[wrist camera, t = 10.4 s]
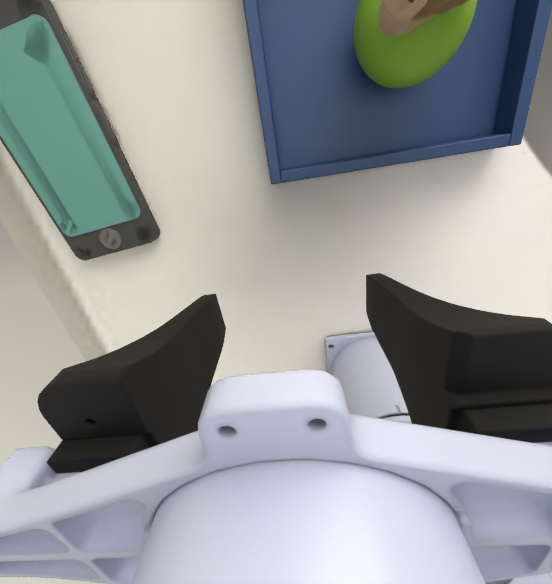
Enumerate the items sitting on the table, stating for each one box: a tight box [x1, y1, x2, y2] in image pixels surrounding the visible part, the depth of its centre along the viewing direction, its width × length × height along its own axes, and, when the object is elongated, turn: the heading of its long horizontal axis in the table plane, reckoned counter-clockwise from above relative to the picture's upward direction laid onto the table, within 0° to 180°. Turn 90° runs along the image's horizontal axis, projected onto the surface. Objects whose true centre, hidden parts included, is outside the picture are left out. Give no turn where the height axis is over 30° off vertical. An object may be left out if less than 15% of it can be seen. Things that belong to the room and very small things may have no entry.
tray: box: [243, 0, 552, 184], centre depth 16 cm, size 15×13×2 cm
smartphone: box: [0, 0, 160, 260], centre depth 20 cm, size 7×1×15 cm
